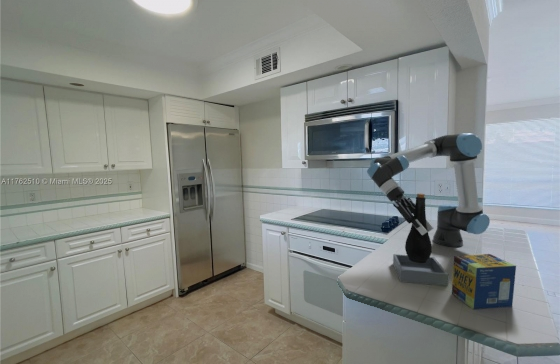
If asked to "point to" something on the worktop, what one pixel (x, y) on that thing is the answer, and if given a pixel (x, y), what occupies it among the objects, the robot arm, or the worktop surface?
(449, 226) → the robot arm
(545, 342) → the worktop surface
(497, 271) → the protein box
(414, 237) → the bottle
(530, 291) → the worktop surface
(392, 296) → the worktop surface
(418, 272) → the tray
